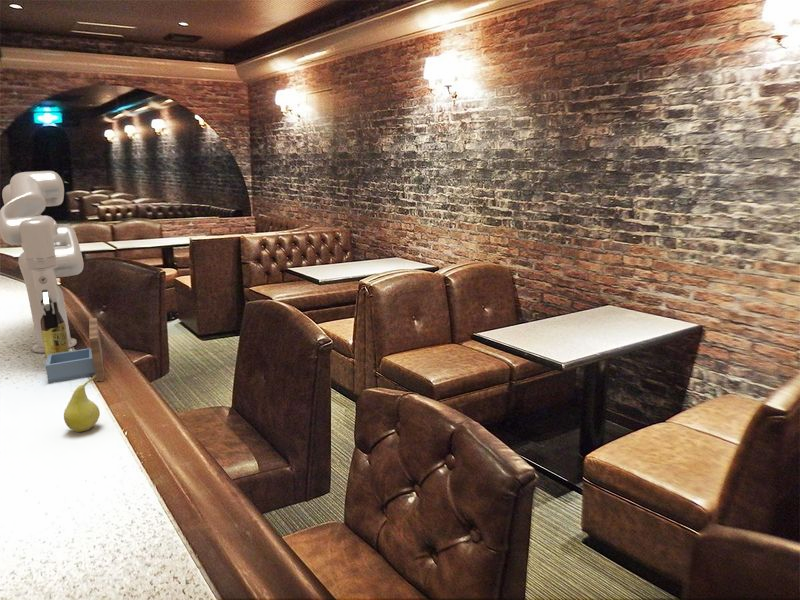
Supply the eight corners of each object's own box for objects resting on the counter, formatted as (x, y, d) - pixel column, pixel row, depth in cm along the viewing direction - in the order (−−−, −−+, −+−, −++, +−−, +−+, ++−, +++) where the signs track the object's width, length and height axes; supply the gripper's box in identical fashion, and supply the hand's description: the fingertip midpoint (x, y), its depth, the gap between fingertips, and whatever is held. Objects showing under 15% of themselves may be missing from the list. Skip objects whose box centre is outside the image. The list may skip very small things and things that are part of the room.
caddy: (50, 371, 178) (47, 354, 177) (95, 364, 183) (93, 347, 182) (48, 383, 168) (45, 365, 167) (96, 375, 173) (93, 358, 172)
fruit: (67, 427, 140) (58, 375, 137) (104, 420, 143) (96, 369, 140) (65, 438, 134) (55, 385, 131) (104, 431, 137) (95, 379, 134)
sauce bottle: (60, 367, 181) (48, 299, 175) (41, 366, 182) (29, 299, 177) (76, 359, 187) (65, 294, 182) (57, 358, 188) (46, 293, 183)
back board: (95, 357, 189) (89, 318, 186) (102, 356, 190) (96, 317, 187) (96, 382, 168) (89, 338, 165) (104, 380, 168) (97, 337, 166)
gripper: (55, 266, 171) (66, 330, 175) (57, 257, 186) (67, 316, 191) (23, 270, 168) (35, 334, 172) (28, 260, 183) (39, 320, 188)
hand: (52, 324), depth 181 cm, fingers closed on sauce bottle, 6 cm apart
